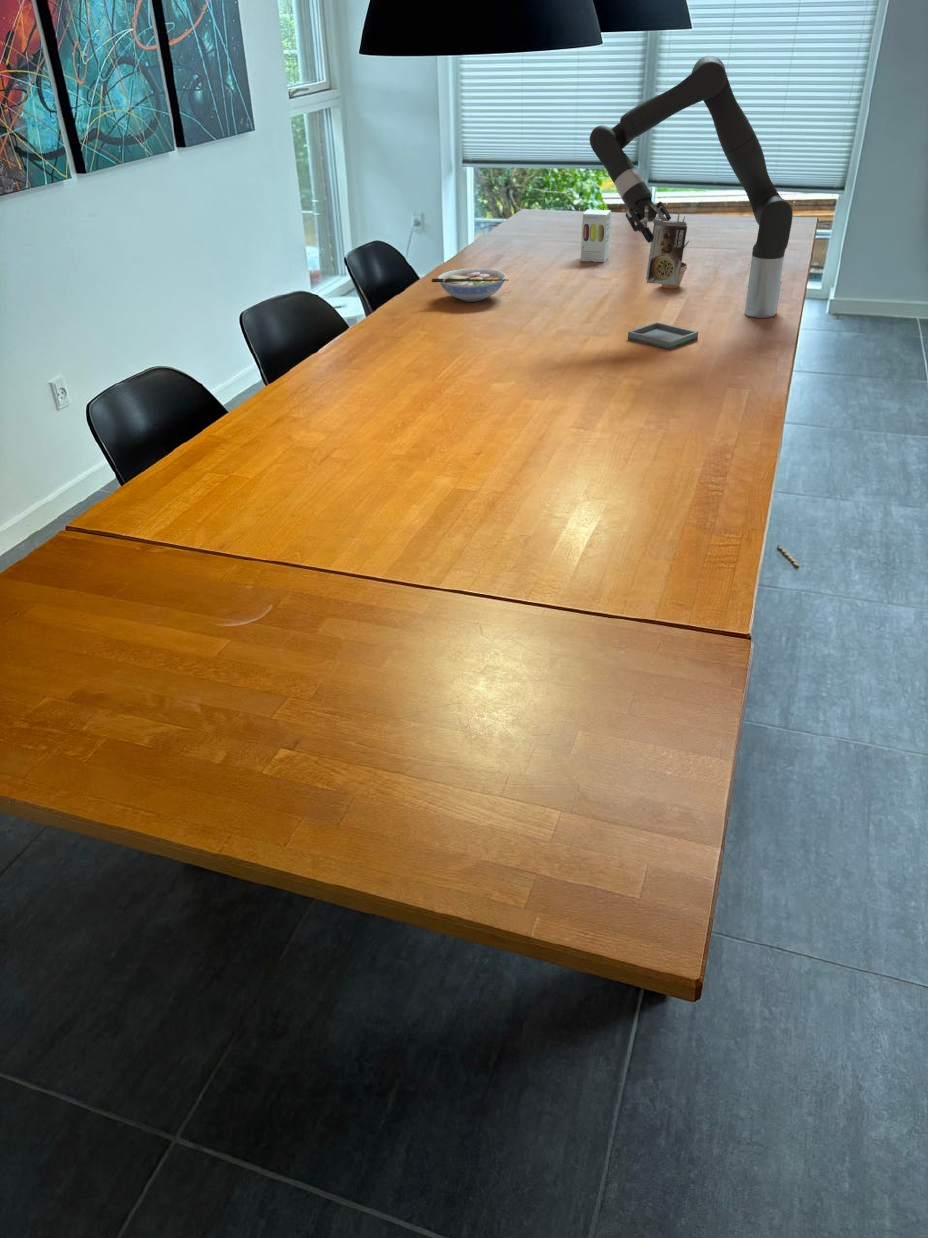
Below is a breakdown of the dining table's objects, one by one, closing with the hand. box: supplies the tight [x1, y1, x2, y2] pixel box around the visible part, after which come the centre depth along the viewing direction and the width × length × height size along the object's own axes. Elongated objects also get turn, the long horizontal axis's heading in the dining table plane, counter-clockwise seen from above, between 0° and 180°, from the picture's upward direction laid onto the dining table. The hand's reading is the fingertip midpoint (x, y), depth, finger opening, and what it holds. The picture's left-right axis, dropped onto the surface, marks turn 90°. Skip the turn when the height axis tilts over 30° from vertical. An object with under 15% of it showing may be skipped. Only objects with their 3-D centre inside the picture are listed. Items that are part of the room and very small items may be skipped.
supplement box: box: [580, 208, 612, 263], centre depth 351 cm, size 10×9×17 cm
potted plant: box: [661, 208, 690, 289], centre depth 313 cm, size 10×10×25 cm
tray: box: [627, 321, 699, 351], centre depth 270 cm, size 13×15×2 cm
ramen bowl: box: [431, 267, 509, 303], centre depth 312 cm, size 25×23×8 cm
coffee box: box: [645, 219, 688, 285], centre depth 268 cm, size 9×6×16 cm
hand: (661, 238), depth 267 cm, fingers closed on coffee box, 8 cm apart
